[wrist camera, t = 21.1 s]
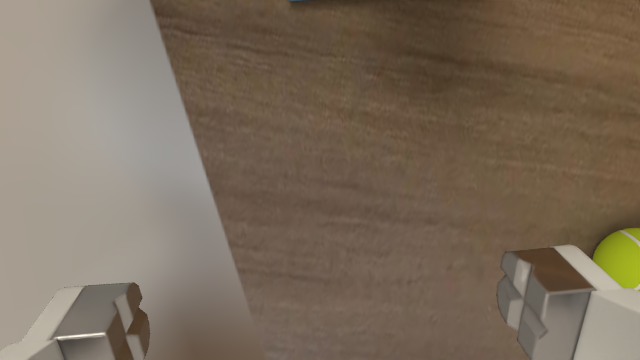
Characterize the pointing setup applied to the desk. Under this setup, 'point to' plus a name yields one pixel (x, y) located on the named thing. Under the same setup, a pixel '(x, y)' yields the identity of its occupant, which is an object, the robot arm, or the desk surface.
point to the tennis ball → (621, 257)
